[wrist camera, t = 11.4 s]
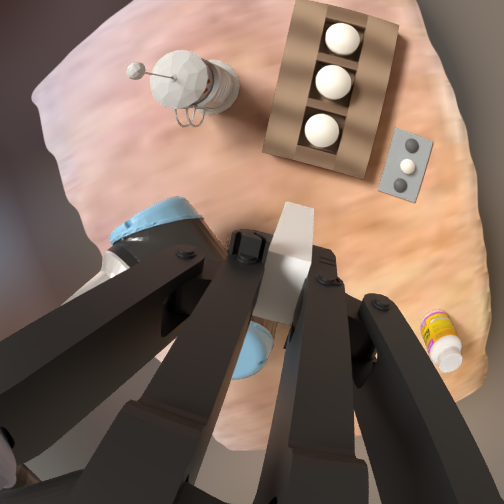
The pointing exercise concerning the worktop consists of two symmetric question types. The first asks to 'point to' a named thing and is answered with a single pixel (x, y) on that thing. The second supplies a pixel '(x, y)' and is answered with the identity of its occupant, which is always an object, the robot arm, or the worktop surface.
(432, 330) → the supplement bottle
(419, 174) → the card
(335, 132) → the button
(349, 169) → the board
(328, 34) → the button
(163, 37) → the worktop surface
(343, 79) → the button
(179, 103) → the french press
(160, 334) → the robot arm
